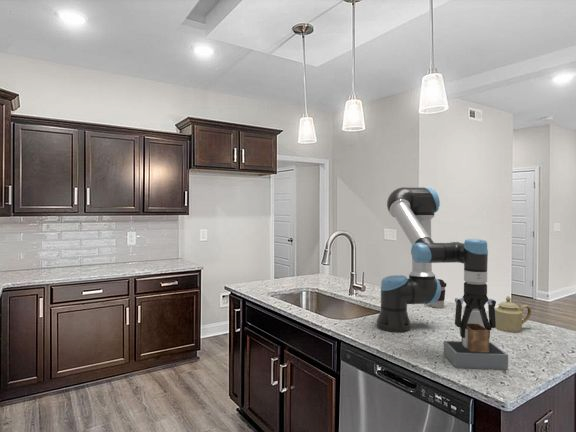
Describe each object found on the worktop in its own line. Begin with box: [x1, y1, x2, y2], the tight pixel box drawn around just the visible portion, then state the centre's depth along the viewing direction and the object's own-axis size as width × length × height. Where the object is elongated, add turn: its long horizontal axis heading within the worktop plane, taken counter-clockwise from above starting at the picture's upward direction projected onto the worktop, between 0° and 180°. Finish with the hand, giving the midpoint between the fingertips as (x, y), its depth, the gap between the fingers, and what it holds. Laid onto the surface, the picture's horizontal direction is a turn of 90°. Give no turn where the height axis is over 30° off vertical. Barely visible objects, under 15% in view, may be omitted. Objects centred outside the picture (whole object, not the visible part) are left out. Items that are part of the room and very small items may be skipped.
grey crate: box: [443, 340, 509, 370], centre depth 138 cm, size 17×12×5 cm
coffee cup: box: [429, 278, 447, 309], centre depth 214 cm, size 10×10×15 cm
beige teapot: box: [494, 295, 532, 333], centre depth 176 cm, size 15×11×15 cm
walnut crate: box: [461, 323, 490, 352], centre depth 137 cm, size 6×9×8 cm, turn 176°
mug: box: [463, 306, 488, 328], centre depth 169 cm, size 12×8×11 cm
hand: (474, 346), depth 137 cm, fingers closed on walnut crate, 6 cm apart
